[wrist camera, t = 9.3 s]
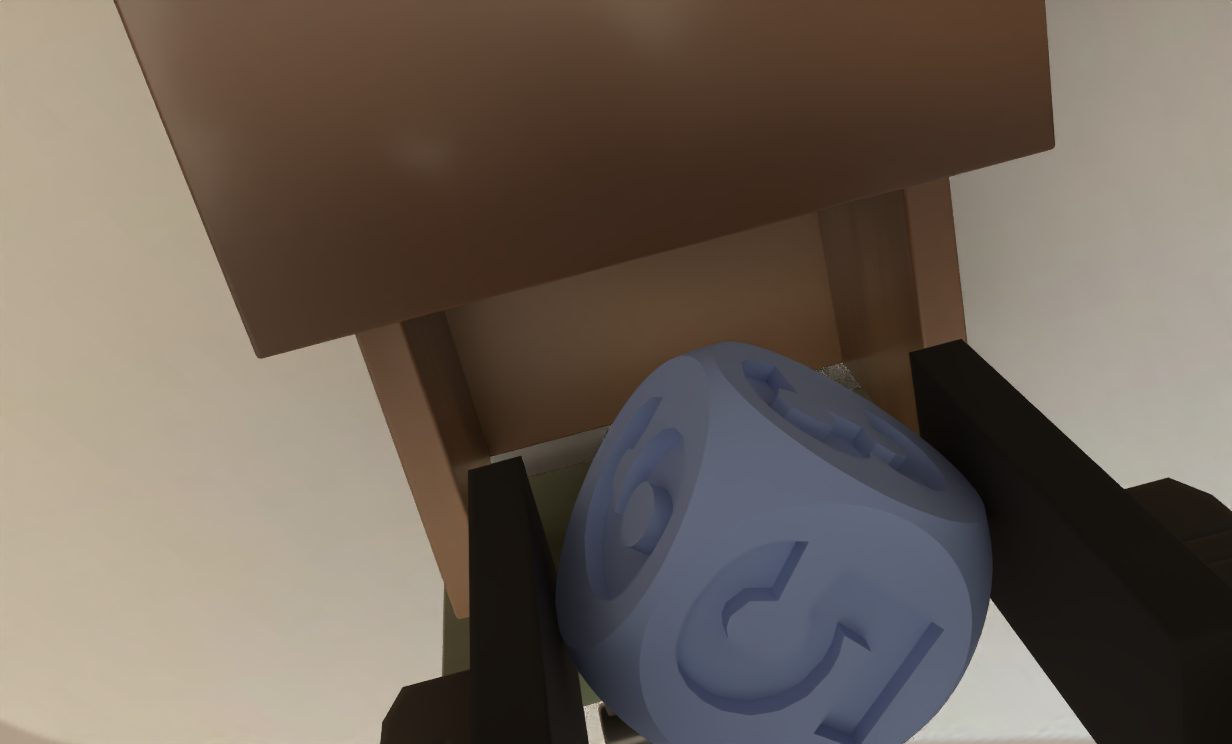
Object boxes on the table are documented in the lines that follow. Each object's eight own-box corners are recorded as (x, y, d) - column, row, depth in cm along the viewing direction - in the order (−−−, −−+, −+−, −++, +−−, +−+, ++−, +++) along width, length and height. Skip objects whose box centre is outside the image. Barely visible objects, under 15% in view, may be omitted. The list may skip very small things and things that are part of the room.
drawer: (919, 547, 30) (1049, 737, 24) (500, 661, 30) (512, 885, 23) (825, -109, 23) (971, -103, 17) (284, 31, 23) (214, 93, 16)
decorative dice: (774, 632, 17) (857, 831, 14) (542, 540, 16) (565, 731, 13) (919, 418, 16) (1051, 573, 13) (678, 302, 15) (748, 437, 12)
